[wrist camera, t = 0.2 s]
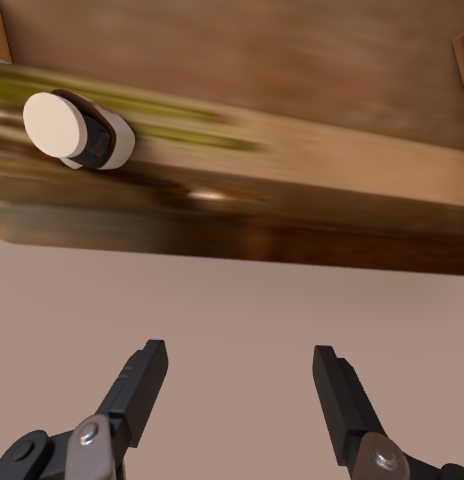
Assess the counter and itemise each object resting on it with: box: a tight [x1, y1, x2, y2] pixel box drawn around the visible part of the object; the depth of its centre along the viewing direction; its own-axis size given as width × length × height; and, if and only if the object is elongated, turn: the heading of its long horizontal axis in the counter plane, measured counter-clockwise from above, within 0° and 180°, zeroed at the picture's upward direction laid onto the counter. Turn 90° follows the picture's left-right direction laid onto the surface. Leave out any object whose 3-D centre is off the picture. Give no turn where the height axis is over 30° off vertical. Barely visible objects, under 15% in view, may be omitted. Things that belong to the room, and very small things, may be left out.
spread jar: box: [23, 89, 135, 169], centre depth 31 cm, size 12×11×12 cm
